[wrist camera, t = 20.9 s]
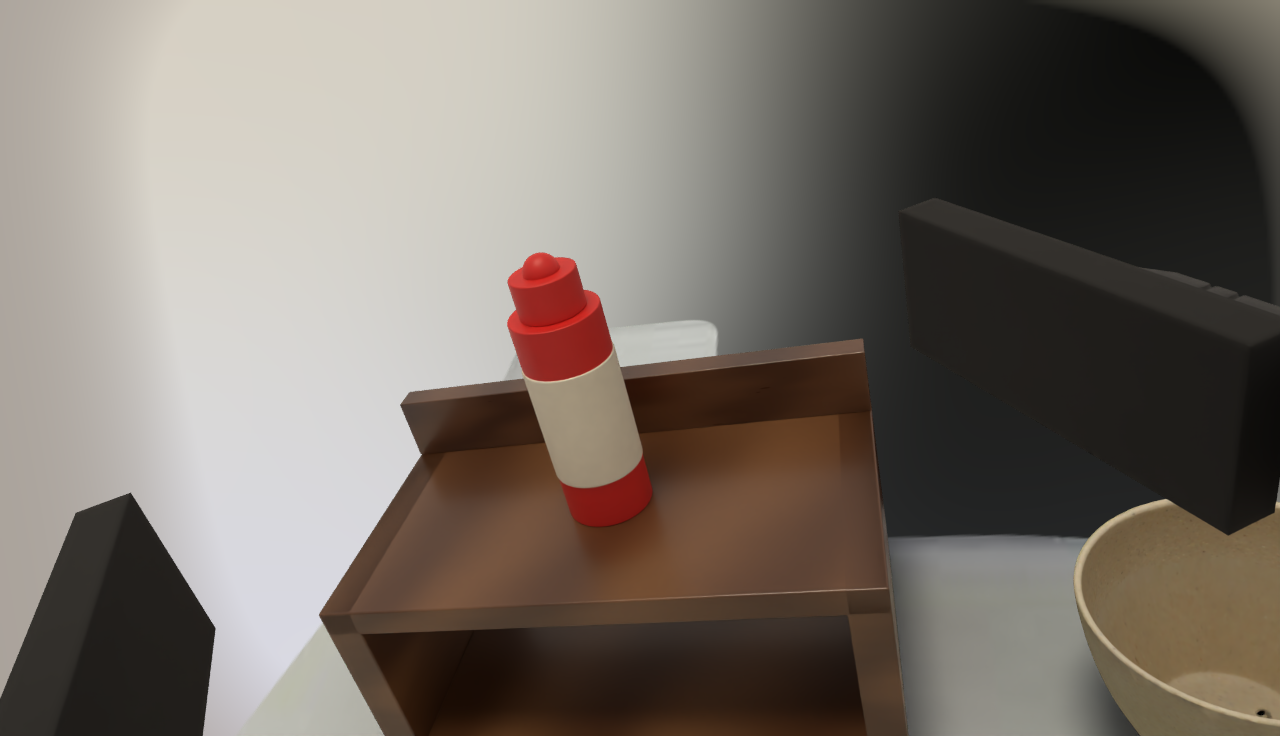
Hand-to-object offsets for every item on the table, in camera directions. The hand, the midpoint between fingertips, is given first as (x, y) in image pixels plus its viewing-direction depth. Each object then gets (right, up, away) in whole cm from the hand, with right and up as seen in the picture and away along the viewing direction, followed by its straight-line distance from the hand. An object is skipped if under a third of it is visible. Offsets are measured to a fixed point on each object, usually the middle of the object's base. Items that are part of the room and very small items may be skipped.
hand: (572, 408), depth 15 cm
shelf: (+2, -13, +27) cm, 30 cm away
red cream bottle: (0, -5, +23) cm, 23 cm away
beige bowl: (+22, -13, +17) cm, 31 cm away
